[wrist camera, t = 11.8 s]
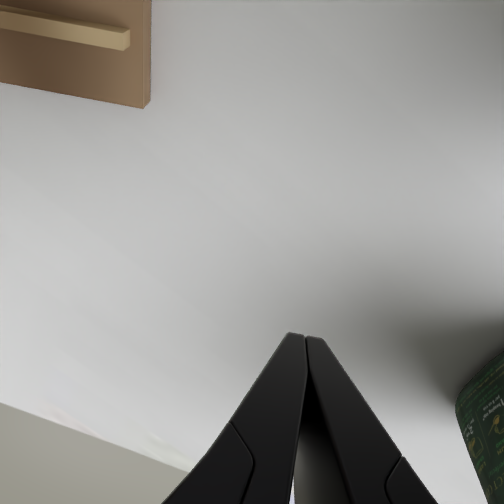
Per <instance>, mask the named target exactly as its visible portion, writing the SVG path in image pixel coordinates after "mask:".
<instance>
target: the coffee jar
mask: <svg viewBox="0 0 504 504" xmlns="http://www.w3.org/2000/svg"><path fill="white" fill-rule="evenodd" d="M455 413H456V417H457V420H458V424H459V427H460V430H461V433H462V436H463V439H464V442H465V444H466V447H467V450H468V453H469V455H470V458H471V460H472V463H473V466H474V468H475V471H476V473H477V476H478V478H479V481H480V484H481V486H482V489H483V491H484V494H485V497H486V499H487V502H488V504H504V351H503V352H502V353H501V354H500V355H498V356H497V357H496V358H495V359H493V360H492V361H491V362H490V363H489V364H487V365H486V366H485V367H484V368H483V369H482V370H481V371H480V372H479V373H478V374H477V375H476V376H475V377H474V378H473V379H472V380H471V381H470V382H469V383H468V384H467V385H466V387H465V388H464V389H463V390H462V392H461V393H460V394H459V396H458V398H457V401H456V405H455Z"/></svg>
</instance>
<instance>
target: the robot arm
mask: <svg viewBox="0 0 504 504" xmlns="http://www.w3.org/2000/svg"><path fill="white" fill-rule="evenodd" d="M401 456H402V454H401V452H400V451H399V449H398V448H397V446H396V445H395V443H394V442H393V440H392V439H391V437H390V436H389V434H388V433H387V432H386V430H385V429H384V427H383V426H382V424H381V423H380V421H379V420H378V418H377V417H376V415H375V414H374V412H373V411H372V410H371V408H370V407H369V405H368V404H367V402H366V401H365V399H364V398H363V396H362V395H361V393H360V392H359V390H358V389H357V388H356V386H355V385H354V383H353V382H352V380H351V379H350V377H349V376H348V374H347V373H346V371H345V370H344V368H343V367H342V366H341V364H340V363H339V361H338V360H337V358H336V357H335V355H334V354H333V352H332V351H331V349H330V348H329V347H328V345H327V344H326V342H325V341H324V340H323V339H322V338H317V337H312V336H306V337H305V336H304V335H302V334H296V333H291V332H289V333H287V334H286V335H285V337H284V338H283V340H282V341H281V343H280V344H279V346H278V348H277V349H276V351H275V352H274V354H273V355H272V357H271V358H270V360H269V361H268V363H267V364H266V366H265V367H264V369H263V370H262V372H261V373H260V375H259V376H258V378H257V379H256V381H255V382H254V384H253V385H252V387H251V388H250V390H249V391H248V393H247V394H246V396H245V397H244V399H243V400H242V402H241V404H240V405H239V407H238V408H237V410H236V411H235V413H234V414H233V416H232V417H231V419H230V420H229V422H228V423H227V424H226V426H225V427H224V429H223V430H222V432H221V433H220V435H219V436H218V437H217V439H216V440H215V442H214V443H213V444H212V446H211V447H210V448H209V450H208V451H207V453H206V454H205V455H204V456H203V457H202V459H201V460H200V461H199V462H198V463H197V464H196V466H195V467H194V468H193V469H192V470H191V472H190V473H189V474H188V475H187V476H186V477H185V478H184V479H183V480H182V481H181V483H180V484H179V485H178V486H177V487H176V488H175V489H174V490H173V491H172V492H171V494H170V495H169V496H168V497H167V498H166V499H165V500H164V501H163V502H162V503H161V504H289V502H290V495H291V488H292V481H293V476H294V499H295V504H438V503H437V502H436V500H435V499H434V498H433V496H432V495H431V494H430V492H429V491H428V490H427V488H426V487H425V485H424V484H423V483H422V481H421V480H420V478H419V477H418V476H417V474H416V473H415V472H414V470H413V469H412V467H411V466H410V464H409V463H408V461H407V460H406V458H405V457H403V456H402V457H401Z"/></svg>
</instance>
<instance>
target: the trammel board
mask: <svg viewBox="0 0 504 504" xmlns="http://www.w3.org/2000/svg"><path fill="white" fill-rule="evenodd" d="M150 73H151V0H0V82H2V83H8V84H13V85H18V86H24V87H29V88H34V89H40V90H45V91H50V92H56V93H61V94H66V95H72V96H77V97H82V98H88V99H93V100H98V101H104V102H109V103H114V104H120V105H125V106H130V107H136V108H141V109H143V108H144V107H145V106H146V105H147V104H148V103H149V102H150Z"/></svg>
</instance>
